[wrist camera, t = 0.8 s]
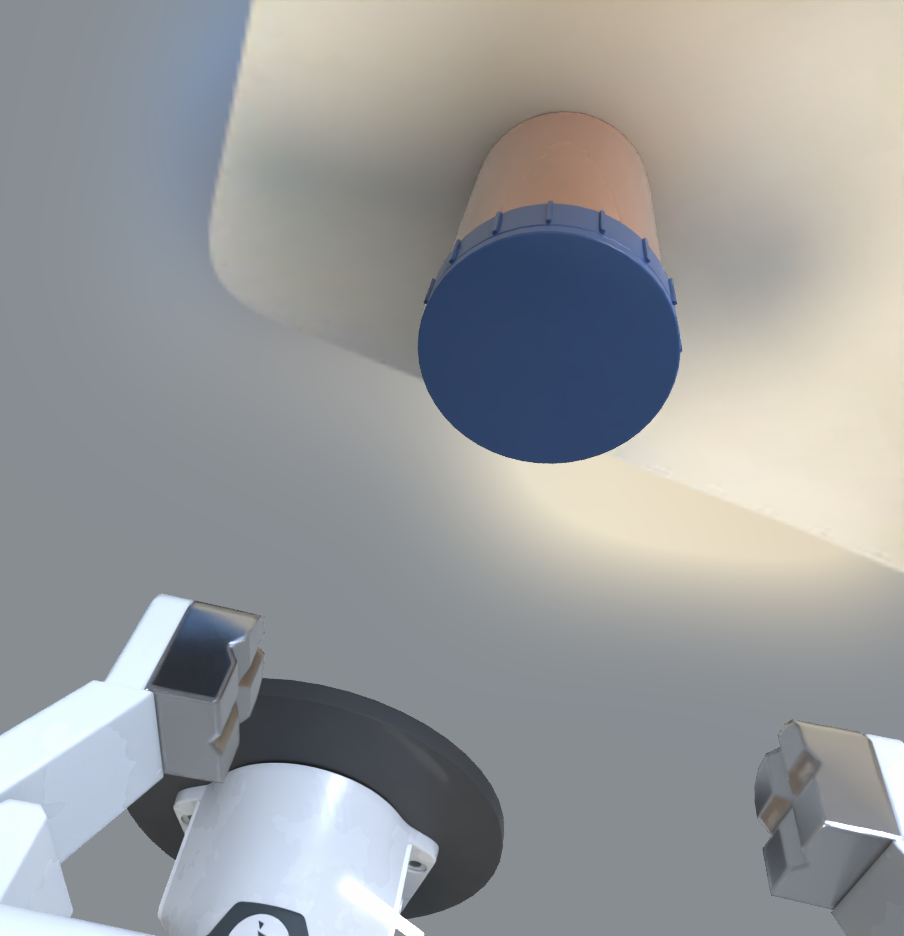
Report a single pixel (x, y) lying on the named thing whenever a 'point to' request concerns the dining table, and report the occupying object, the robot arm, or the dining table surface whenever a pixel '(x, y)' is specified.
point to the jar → (564, 173)
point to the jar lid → (550, 334)
